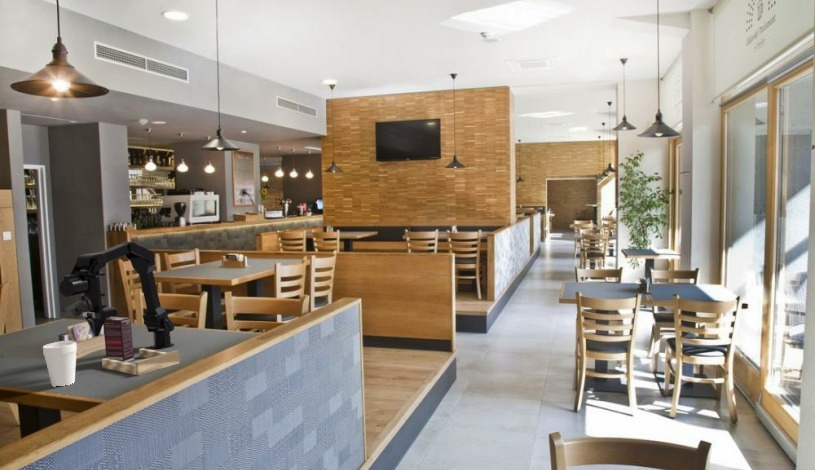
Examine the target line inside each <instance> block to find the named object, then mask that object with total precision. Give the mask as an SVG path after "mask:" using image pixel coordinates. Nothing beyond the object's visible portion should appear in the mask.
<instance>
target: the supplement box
mask: <svg viewBox="0 0 815 470" xmlns="http://www.w3.org/2000/svg"><path fill="white" fill-rule="evenodd" d="M103 332H104V333H103V335H104V345H105V357H106V358H108V359H113V360H118V361H123V362H128V363H129V362H132V361H135V357H134V345H133V332H132V321H131V317H123V316H121V317H120V316H118V317H117V316H113V317H109V318H106V320H105V322H104V324H103Z"/></svg>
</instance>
